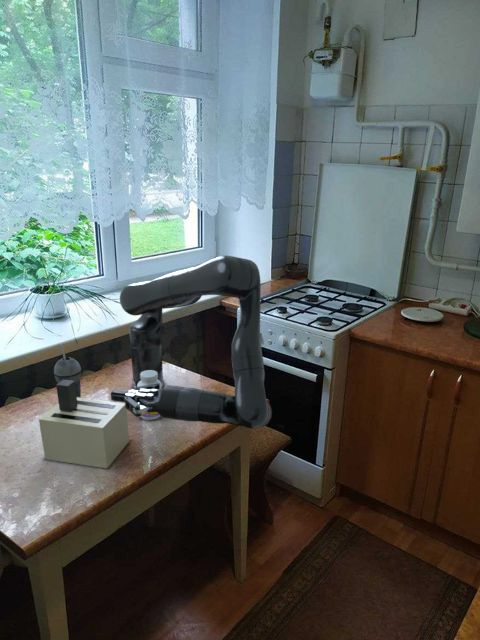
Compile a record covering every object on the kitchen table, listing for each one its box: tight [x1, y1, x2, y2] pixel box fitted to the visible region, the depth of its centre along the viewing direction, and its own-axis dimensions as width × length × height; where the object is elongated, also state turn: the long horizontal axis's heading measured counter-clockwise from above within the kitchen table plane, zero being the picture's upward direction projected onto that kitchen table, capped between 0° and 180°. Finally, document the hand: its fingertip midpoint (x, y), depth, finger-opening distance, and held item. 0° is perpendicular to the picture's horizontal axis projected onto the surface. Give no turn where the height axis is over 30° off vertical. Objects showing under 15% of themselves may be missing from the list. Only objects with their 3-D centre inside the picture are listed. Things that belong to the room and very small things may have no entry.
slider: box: [55, 380, 78, 412], centre depth 117 cm, size 3×3×7 cm
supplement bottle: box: [137, 370, 163, 421], centre depth 137 cm, size 7×7×13 cm
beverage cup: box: [53, 344, 82, 398], centre depth 137 cm, size 7×7×20 cm
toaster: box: [38, 397, 130, 469], centre depth 120 cm, size 12×16×11 cm
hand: (112, 394), depth 115 cm, fingers closed
